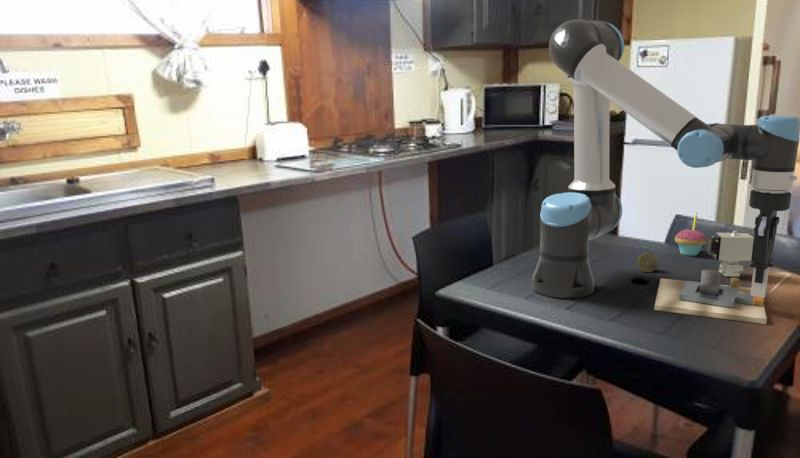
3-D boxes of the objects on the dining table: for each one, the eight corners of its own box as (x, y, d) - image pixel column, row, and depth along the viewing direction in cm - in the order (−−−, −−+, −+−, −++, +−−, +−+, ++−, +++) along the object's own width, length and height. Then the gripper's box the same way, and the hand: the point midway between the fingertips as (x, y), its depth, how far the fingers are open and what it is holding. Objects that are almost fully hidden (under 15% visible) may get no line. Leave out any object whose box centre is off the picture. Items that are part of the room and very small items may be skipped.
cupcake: (682, 247, 187) (685, 209, 184) (711, 253, 181) (714, 213, 178) (668, 253, 182) (671, 213, 179) (696, 259, 175) (700, 218, 172)
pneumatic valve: (757, 279, 158) (763, 233, 155) (708, 277, 161) (712, 232, 158) (750, 272, 164) (755, 228, 161) (702, 270, 166) (707, 227, 163)
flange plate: (679, 299, 142) (681, 278, 141) (687, 285, 151) (689, 265, 150) (761, 312, 134) (764, 290, 132) (765, 296, 142) (767, 276, 141)
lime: (659, 271, 166) (661, 254, 165) (645, 274, 164) (646, 256, 163) (647, 267, 170) (649, 249, 169) (633, 269, 168) (634, 252, 167)
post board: (654, 309, 140) (656, 279, 138) (660, 282, 158) (662, 255, 156) (766, 324, 131) (770, 292, 129) (759, 293, 148) (763, 265, 146)
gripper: (786, 196, 124) (771, 307, 129) (796, 187, 133) (782, 291, 139) (744, 192, 128) (732, 300, 134) (757, 184, 138) (745, 285, 143)
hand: (757, 295), depth 136 cm, fingers closed
